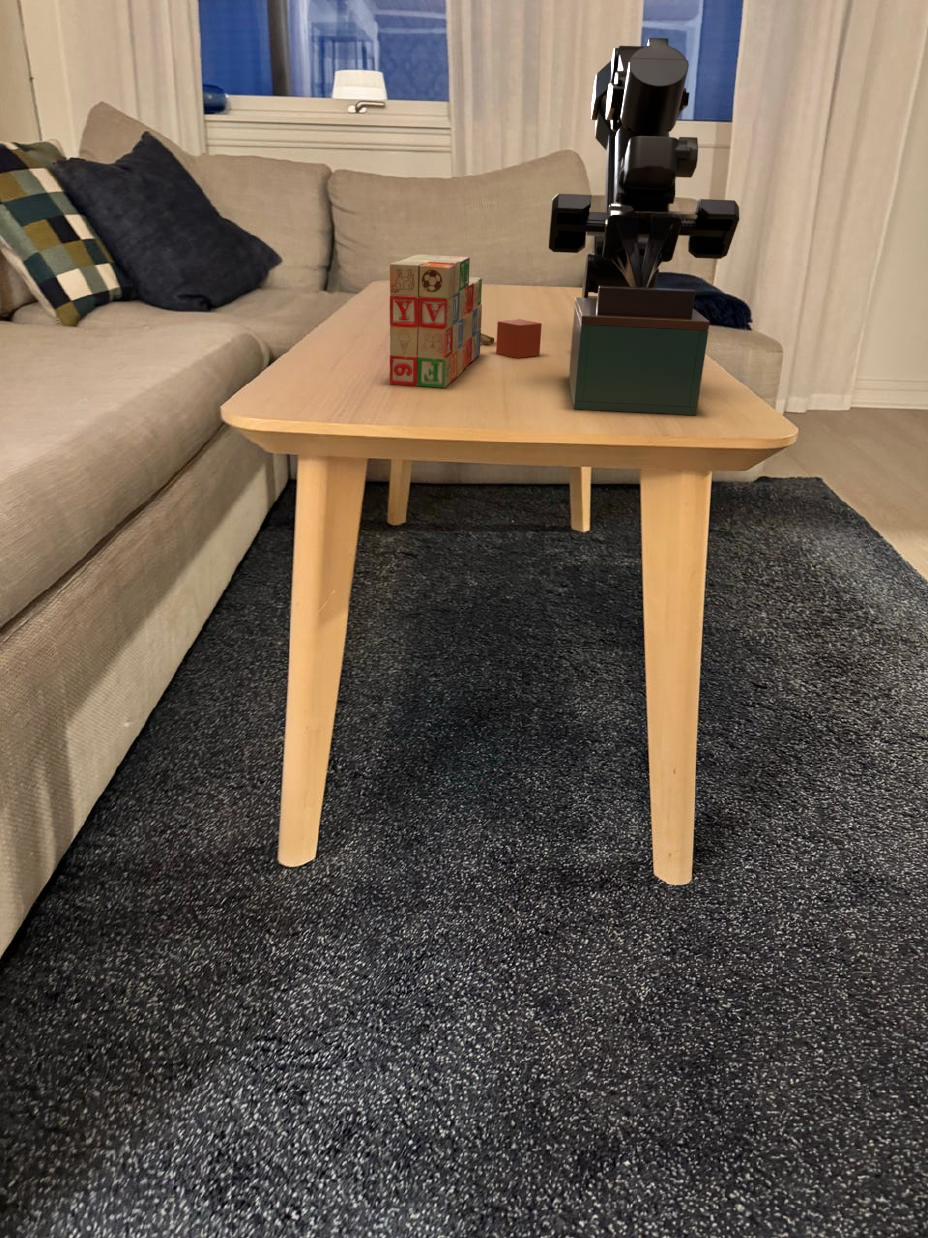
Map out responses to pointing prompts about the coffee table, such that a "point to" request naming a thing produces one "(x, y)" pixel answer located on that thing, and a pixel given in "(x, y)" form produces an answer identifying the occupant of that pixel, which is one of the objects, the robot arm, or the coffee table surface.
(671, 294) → the lid
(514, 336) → the block
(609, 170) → the robot arm
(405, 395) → the coffee table surface
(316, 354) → the coffee table surface
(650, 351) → the box
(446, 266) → the stack of blocks
